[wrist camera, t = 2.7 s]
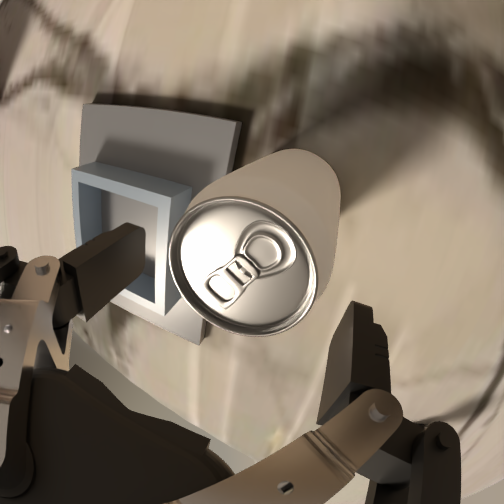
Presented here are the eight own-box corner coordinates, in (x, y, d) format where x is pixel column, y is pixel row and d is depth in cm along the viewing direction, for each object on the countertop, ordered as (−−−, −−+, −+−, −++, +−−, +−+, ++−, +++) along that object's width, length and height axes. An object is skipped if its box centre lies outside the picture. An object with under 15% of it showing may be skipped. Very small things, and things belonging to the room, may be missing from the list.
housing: (91, 103, 22) (59, 106, 18) (242, 121, 19) (217, 123, 15) (95, 284, 33) (73, 301, 29) (204, 338, 30) (186, 364, 26)
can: (359, 196, 19) (371, 290, 9) (295, 250, 22) (245, 365, 12) (294, 128, 18) (225, 139, 8) (236, 190, 22) (135, 262, 11)
